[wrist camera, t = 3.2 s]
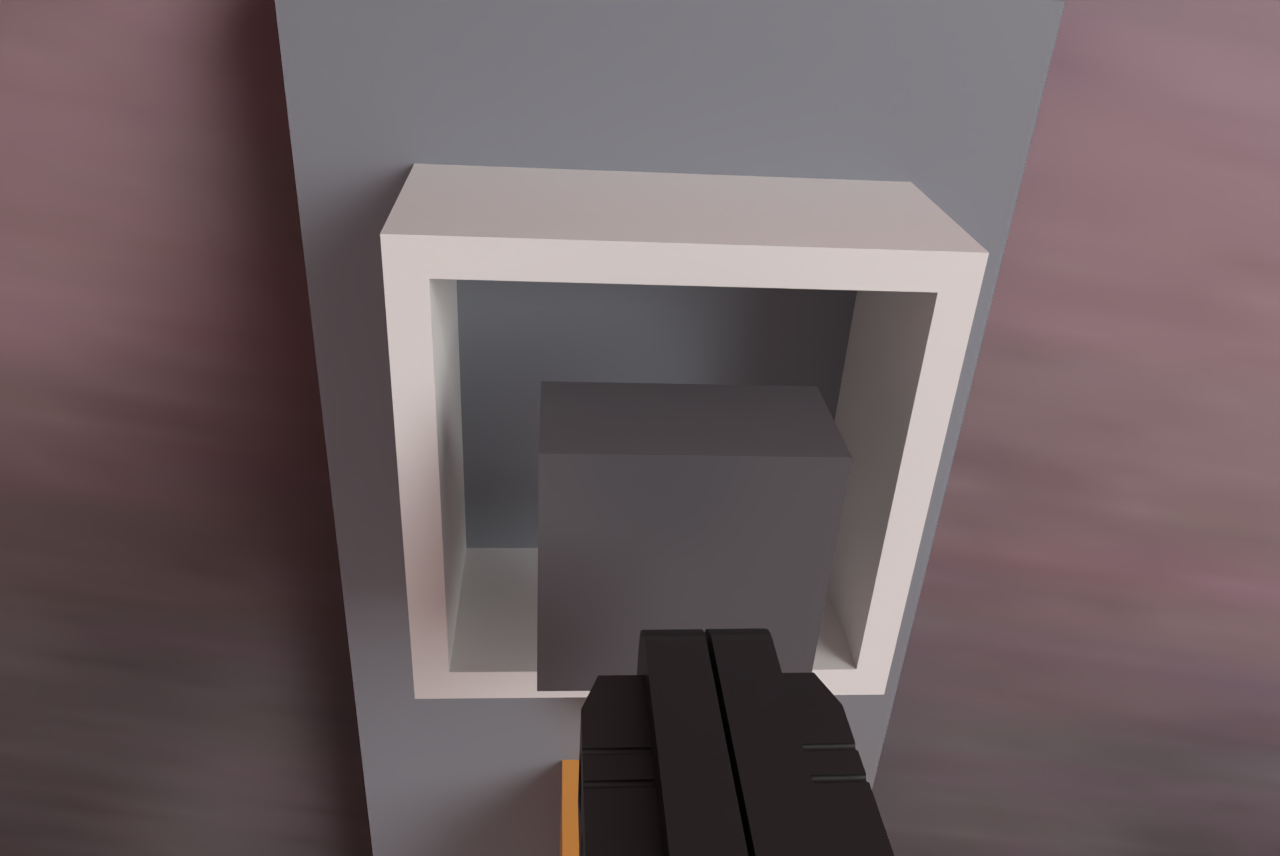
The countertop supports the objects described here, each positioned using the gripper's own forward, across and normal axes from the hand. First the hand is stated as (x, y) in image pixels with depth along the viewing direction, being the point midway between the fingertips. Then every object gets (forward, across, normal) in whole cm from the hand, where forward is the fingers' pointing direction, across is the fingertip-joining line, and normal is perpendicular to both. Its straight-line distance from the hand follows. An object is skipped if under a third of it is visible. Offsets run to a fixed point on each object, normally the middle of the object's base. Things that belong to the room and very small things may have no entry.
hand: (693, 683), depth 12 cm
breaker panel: (+9, 0, +5) cm, 11 cm away
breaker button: (+4, 0, 0) cm, 4 cm away
